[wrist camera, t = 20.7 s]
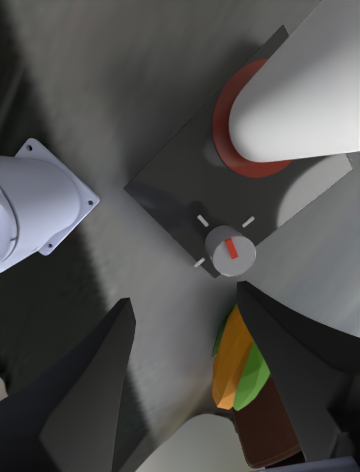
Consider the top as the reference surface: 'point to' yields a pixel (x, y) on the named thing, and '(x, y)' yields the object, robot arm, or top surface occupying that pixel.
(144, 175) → the hob
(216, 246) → the knob
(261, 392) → the letter holder
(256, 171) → the burner ring
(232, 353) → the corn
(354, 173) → the top surface
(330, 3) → the can
